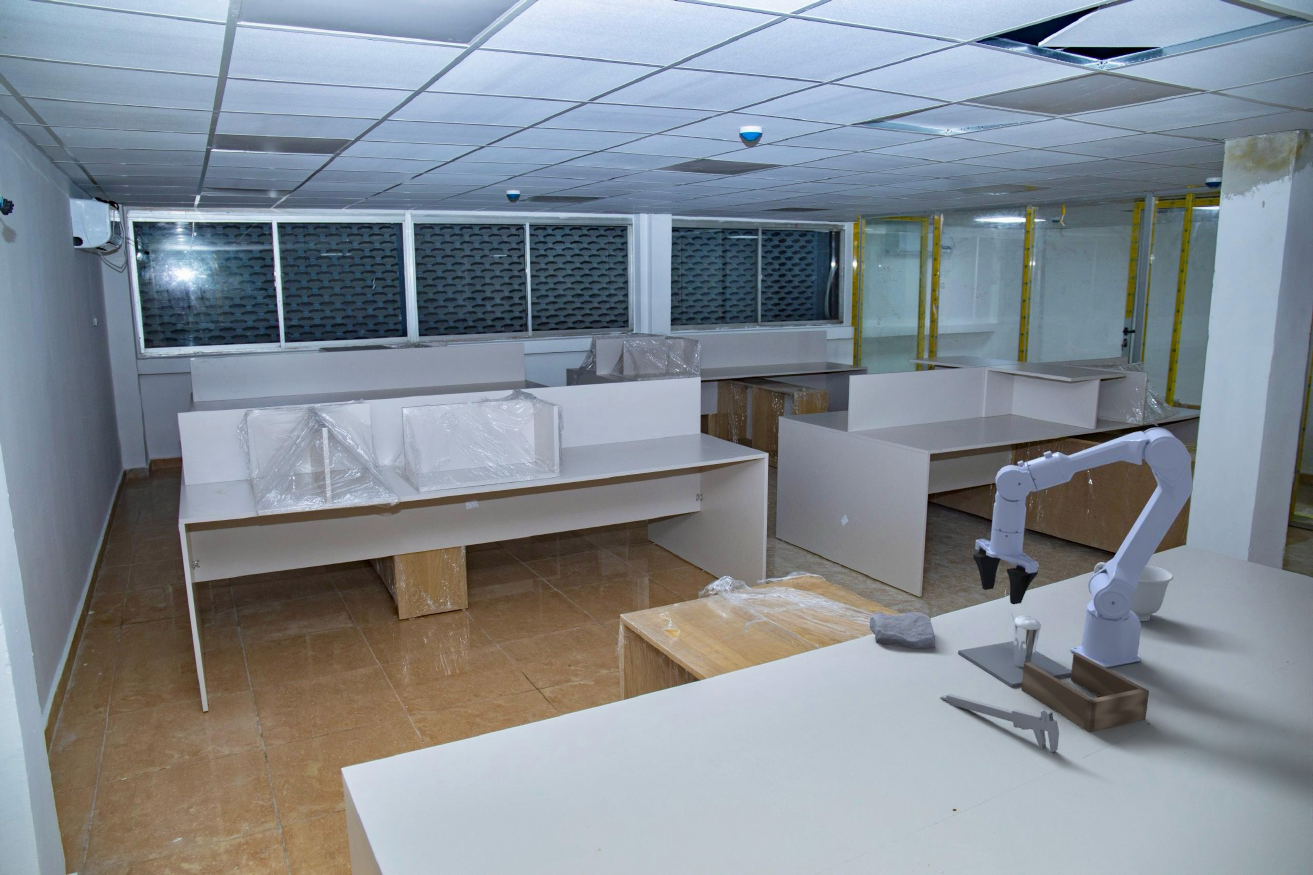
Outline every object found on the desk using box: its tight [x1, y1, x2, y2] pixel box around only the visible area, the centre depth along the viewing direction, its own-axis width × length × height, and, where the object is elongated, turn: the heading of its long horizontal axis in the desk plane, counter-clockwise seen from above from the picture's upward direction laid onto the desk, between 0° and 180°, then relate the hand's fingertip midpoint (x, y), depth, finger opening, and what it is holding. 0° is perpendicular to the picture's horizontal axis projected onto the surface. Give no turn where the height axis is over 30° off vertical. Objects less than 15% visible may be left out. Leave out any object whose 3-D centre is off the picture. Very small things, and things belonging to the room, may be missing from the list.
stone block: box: [869, 611, 936, 650], centre depth 169 cm, size 12×5×10 cm
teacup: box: [1093, 561, 1174, 622], centre depth 181 cm, size 12×15×10 cm
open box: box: [1020, 653, 1150, 733], centre depth 143 cm, size 12×14×5 cm
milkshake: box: [1010, 612, 1042, 668], centre depth 155 cm, size 4×5×10 cm
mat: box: [957, 640, 1072, 688], centre depth 158 cm, size 14×14×1 cm
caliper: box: [939, 693, 1060, 754], centre depth 137 cm, size 20×1×6 cm, turn 35°
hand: (1001, 595), depth 166 cm, fingers open, 7 cm apart
